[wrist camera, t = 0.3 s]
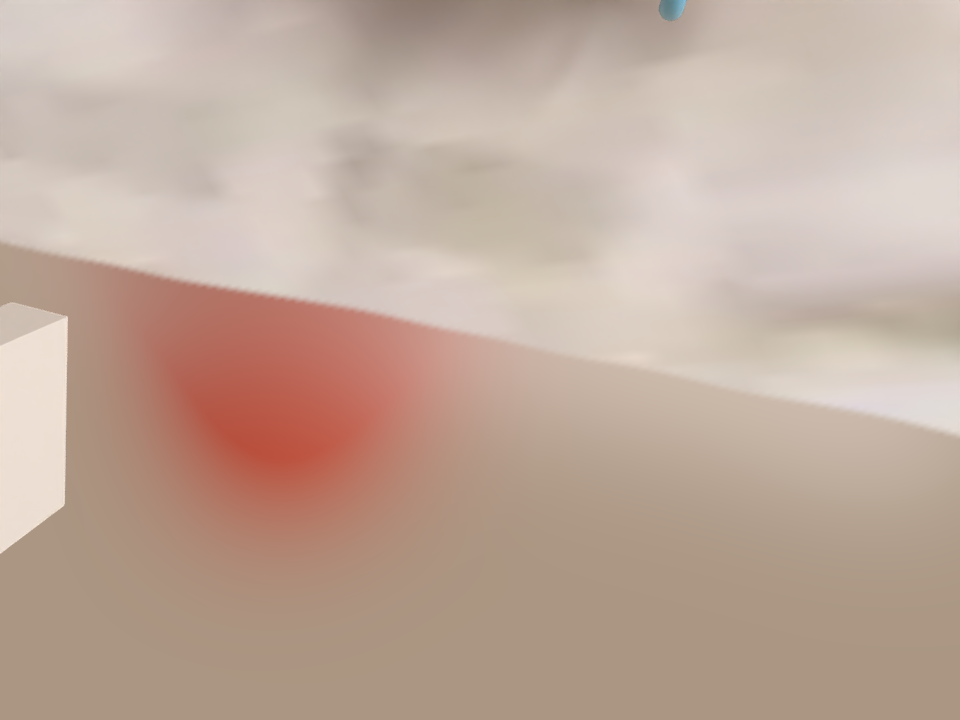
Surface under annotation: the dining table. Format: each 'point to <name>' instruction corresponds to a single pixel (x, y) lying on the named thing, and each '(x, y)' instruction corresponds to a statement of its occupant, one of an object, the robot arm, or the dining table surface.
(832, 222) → the dining table surface
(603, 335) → the dining table surface
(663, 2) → the cylinder
